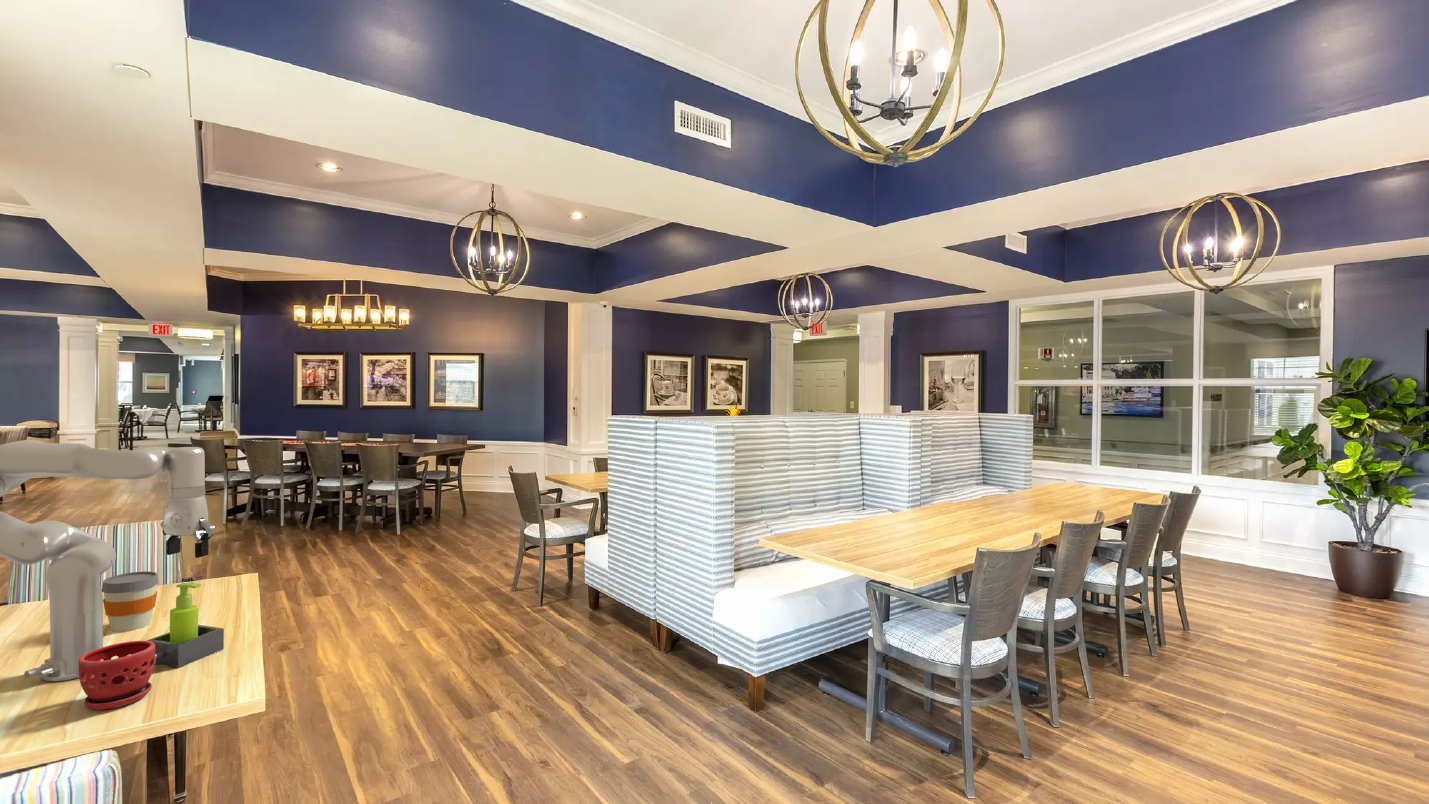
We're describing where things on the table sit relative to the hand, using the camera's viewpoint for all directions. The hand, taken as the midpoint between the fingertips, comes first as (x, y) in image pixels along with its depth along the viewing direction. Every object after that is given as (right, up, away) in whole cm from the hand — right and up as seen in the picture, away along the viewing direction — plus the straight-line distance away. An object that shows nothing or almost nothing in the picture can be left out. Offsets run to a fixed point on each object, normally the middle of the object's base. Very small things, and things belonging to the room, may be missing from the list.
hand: (187, 555), depth 170 cm
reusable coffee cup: (-34, -27, +19) cm, 47 cm away
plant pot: (+3, -29, -23) cm, 37 cm away
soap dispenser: (-1, -28, +1) cm, 28 cm away
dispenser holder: (-2, -28, -2) cm, 28 cm away
